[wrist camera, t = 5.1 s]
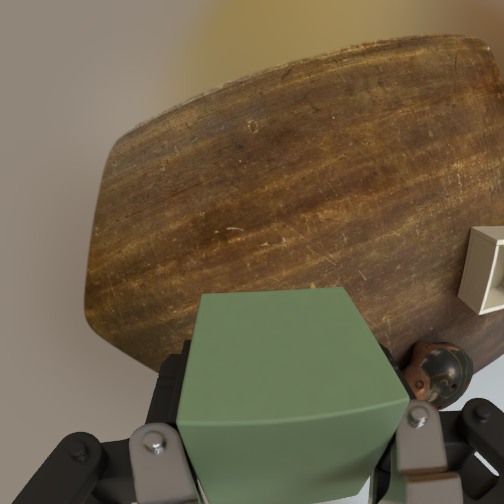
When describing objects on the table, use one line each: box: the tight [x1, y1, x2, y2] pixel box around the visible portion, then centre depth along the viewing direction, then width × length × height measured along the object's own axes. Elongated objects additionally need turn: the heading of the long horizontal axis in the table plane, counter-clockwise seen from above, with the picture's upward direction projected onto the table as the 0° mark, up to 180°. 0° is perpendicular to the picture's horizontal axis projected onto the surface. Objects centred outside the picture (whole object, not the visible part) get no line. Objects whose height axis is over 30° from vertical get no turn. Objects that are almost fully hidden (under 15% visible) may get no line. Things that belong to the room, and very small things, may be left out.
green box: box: [176, 287, 410, 504], centre depth 8 cm, size 5×4×5 cm
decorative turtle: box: [401, 340, 473, 411], centre depth 29 cm, size 10×15×8 cm, turn 82°
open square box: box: [458, 226, 504, 315], centre depth 26 cm, size 9×9×5 cm
